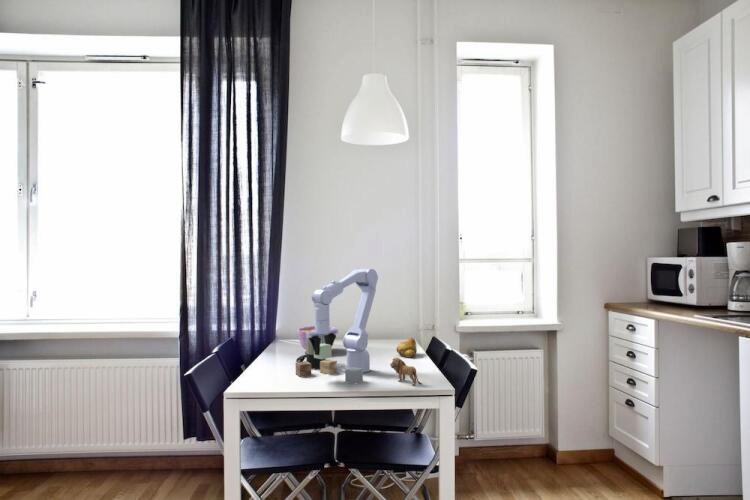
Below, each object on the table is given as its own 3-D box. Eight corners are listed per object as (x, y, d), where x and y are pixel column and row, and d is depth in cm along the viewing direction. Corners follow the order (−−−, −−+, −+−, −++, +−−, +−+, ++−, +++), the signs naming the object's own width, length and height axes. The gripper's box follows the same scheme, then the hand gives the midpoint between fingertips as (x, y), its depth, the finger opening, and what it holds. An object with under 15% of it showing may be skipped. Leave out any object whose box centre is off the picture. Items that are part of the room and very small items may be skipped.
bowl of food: (292, 350, 269) (292, 327, 269) (329, 346, 277) (329, 325, 277) (304, 357, 251) (304, 333, 251) (342, 353, 259) (342, 330, 259)
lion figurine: (388, 380, 205) (388, 358, 205) (396, 378, 209) (396, 355, 209) (417, 387, 195) (417, 363, 195) (426, 384, 199) (426, 361, 199)
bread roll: (418, 358, 246) (418, 341, 246) (398, 358, 246) (397, 342, 246) (415, 353, 259) (415, 337, 259) (395, 353, 259) (395, 337, 259)
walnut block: (307, 373, 219) (306, 361, 219) (311, 375, 215) (311, 363, 215) (295, 374, 217) (295, 362, 217) (299, 377, 212) (299, 365, 212)
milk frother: (322, 369, 225) (322, 335, 225) (288, 368, 228) (288, 334, 228) (332, 362, 239) (331, 330, 239) (299, 361, 242) (299, 329, 242)
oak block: (328, 370, 223) (328, 359, 223) (336, 372, 220) (336, 360, 220) (320, 373, 219) (320, 361, 219) (328, 374, 216) (328, 362, 216)
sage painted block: (323, 355, 211) (323, 343, 211) (331, 357, 208) (331, 345, 208) (313, 357, 208) (313, 345, 208) (321, 359, 204) (321, 346, 204)
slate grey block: (351, 379, 208) (351, 367, 208) (362, 381, 206) (362, 368, 205) (345, 382, 203) (345, 369, 203) (356, 384, 201) (356, 371, 201)
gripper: (330, 316, 216) (330, 349, 216) (301, 320, 206) (301, 354, 206) (341, 318, 210) (341, 352, 210) (312, 322, 200) (312, 357, 201)
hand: (322, 353), depth 208 cm, fingers closed on sage painted block, 5 cm apart
